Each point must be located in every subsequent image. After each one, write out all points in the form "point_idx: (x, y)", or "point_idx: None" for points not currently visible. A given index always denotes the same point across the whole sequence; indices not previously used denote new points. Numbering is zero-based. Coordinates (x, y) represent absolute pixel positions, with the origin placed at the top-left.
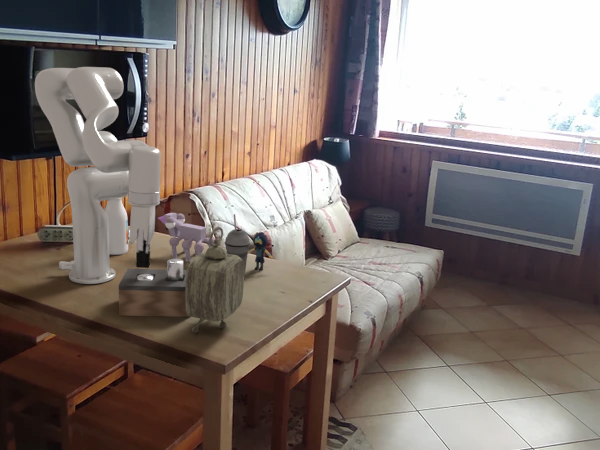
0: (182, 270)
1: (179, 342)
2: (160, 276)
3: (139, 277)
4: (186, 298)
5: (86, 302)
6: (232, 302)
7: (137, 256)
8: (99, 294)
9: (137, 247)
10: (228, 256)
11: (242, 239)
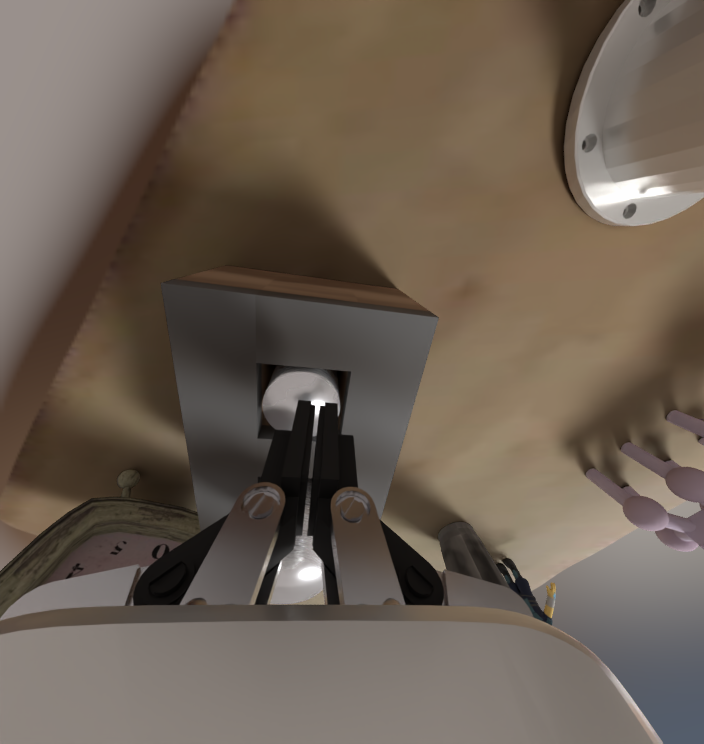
0: None
1: (66, 441)
2: (310, 459)
3: (289, 384)
4: (5, 568)
5: (359, 99)
6: None
7: (287, 455)
8: (441, 164)
9: (150, 580)
10: None
11: None
